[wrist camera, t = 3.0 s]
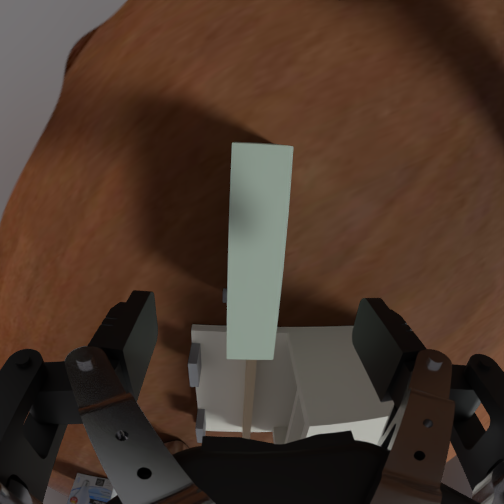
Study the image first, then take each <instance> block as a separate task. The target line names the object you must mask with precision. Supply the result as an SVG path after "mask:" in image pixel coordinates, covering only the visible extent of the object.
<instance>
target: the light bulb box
mask: <svg viewBox="0 0 504 504" xmlns="http://www.w3.org/2000/svg"><path fill="white" fill-rule="evenodd" d="M116 495H117V493H116V491H115V489H114V488H113V486H112V484H111V482H110V480H109V479H106V478H100V477H95V476H89V475H84V474H80V473H77V476H76V478H75V481H74V484H73V487H72V490H71V493H70V496H69V499H68V502H67V504H105V503H106V502H108V501H109V500H111V499H112V498H113V497H115V496H116Z"/></svg>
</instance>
